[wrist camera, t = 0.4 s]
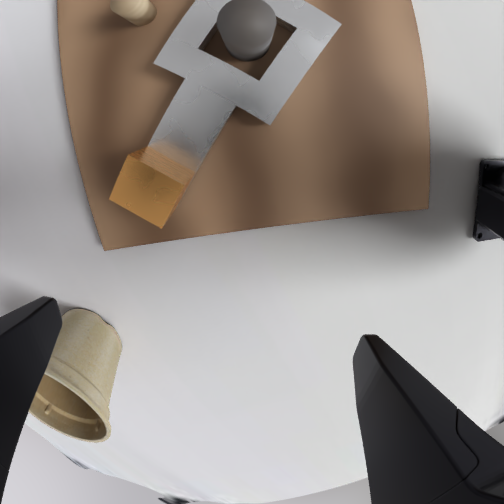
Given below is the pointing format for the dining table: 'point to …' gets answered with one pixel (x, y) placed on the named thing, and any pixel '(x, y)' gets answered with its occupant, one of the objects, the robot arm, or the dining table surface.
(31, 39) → the dining table surface
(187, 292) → the dining table surface
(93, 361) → the flower pot
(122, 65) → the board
